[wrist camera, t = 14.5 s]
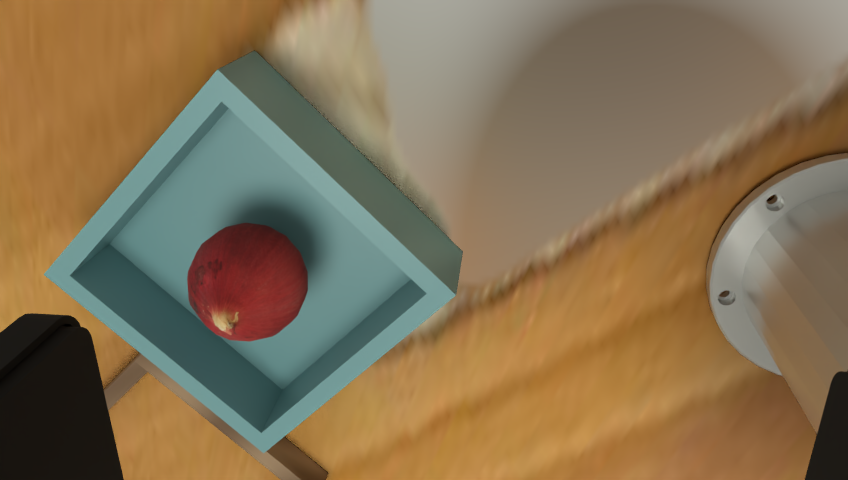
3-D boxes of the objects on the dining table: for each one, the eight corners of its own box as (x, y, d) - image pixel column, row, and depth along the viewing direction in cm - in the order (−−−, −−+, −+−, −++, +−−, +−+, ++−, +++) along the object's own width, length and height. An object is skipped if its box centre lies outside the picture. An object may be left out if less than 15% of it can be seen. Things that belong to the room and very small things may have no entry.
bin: (462, 251, 39) (456, 295, 35) (289, 399, 45) (263, 453, 40) (254, 50, 36) (217, 69, 32) (94, 235, 42) (43, 274, 37)
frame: (328, 473, 47) (320, 495, 45) (201, 570, 52) (189, 593, 50) (158, 333, 44) (143, 351, 42) (42, 450, 49) (24, 471, 47)
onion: (222, 291, 41) (159, 371, 34) (216, 196, 39) (147, 260, 31) (323, 302, 41) (281, 386, 33) (323, 207, 38) (278, 275, 31)
